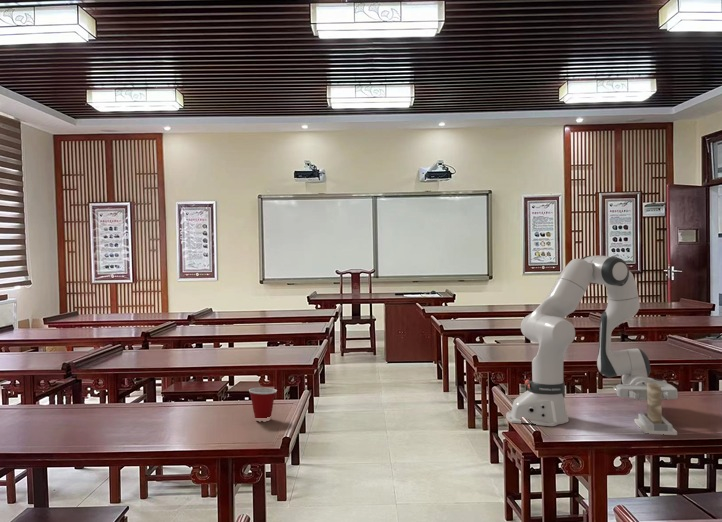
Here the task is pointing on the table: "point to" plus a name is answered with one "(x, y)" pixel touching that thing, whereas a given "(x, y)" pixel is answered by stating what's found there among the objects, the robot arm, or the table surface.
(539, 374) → the robot arm
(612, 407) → the table surface
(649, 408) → the tan wooden block
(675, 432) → the floor track
